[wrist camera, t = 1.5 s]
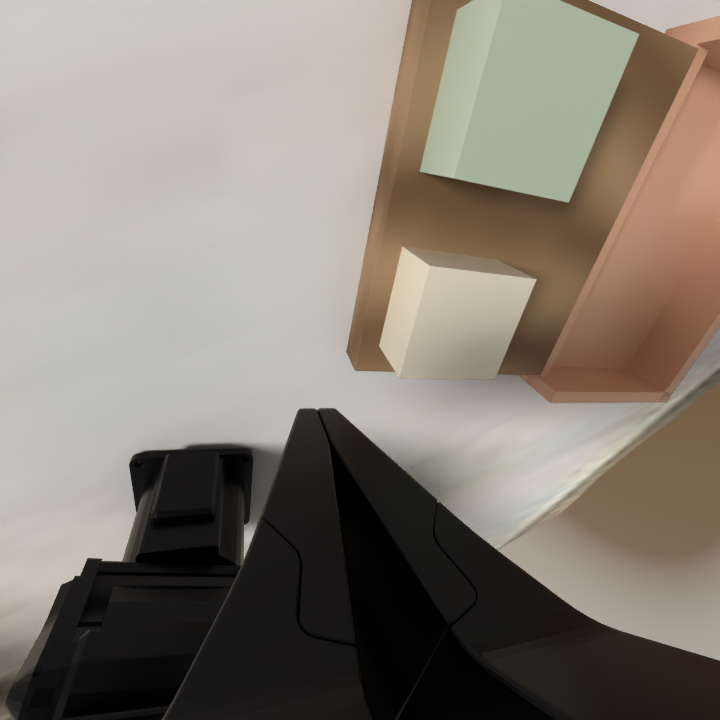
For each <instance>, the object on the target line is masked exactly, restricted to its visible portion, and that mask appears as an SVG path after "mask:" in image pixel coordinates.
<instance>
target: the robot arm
mask: <svg viewBox="0 0 720 720" xmlns="http://www.w3.org/2000/svg"><path fill="white" fill-rule="evenodd" d="M242 457H247V458H242ZM138 462H143V463H138ZM129 467H130V474H131V480H132V487H133V493H134V500H135V506H136V513H137V514H136V517H135V520H134V524H133V527H132V530H131V534H130V537H129V541H128V544H127V547H126V551H125V554H124V557H123V561H122V562H117V561H102V559H95V558H88V559H87V561H86V564H85V566H84V568H83V571H82V573H81V576H75V577H74V579H73V580H72V581H69V582H67V583H65V584H62V585H61V587H60V589H59V592H58V594H57V597H56V599H55V601H54V604H53V606H52V609H51V611H50V613H49V616H48V618H47V620H46V622H45V625H44V627H43V629H42V631H41V633H40V635H39V636H38V638H37V640H36V642H35V644H34V646H33V648H32V649H31V651H30V653H29V655H28V657H27V659H26V660H25V662H24V664H23V666H22V668H21V670H20V672H19V673H18V675H17V677H16V679H15V681H14V683H13V685H12V687H11V689H10V692H9V694H8V697H7V700H6V703H5V707H6V709H7V710H8V712H9V714H10V715H11V717H12V719H13V720H720V661H719V660H716V659H712V658H709V657H705V656H702V655H699V654H696V653H692V652H689V651H685V650H682V649H679V648H675V647H672V646H669V645H665V644H662V643H659V642H656V641H652V640H649V639H645V638H642V637H639V636H635V635H632V634H629V633H625V632H622V631H619V630H616V629H613V628H611V627H608V626H606V625H604V624H601V623H599V622H597V621H596V620H593V619H592V618H590V617H588V616H586V615H584V614H583V613H581V612H580V611H578V610H576V609H575V608H573V607H572V606H571V605H569V604H568V603H566V602H565V601H564V600H562V599H561V598H560V597H558V596H557V595H556V594H554V593H553V592H551V591H550V590H549V589H548V588H546V587H545V586H544V585H542V584H541V583H540V582H538V581H537V580H536V579H534V578H533V577H532V576H531V575H529V574H528V573H526V572H525V571H524V570H523V569H521V568H520V567H519V566H517V565H516V564H515V563H513V562H512V561H511V560H509V559H508V558H507V557H505V556H504V555H503V554H501V553H500V552H499V551H498V550H496V549H495V548H494V547H493V546H491V545H490V544H489V543H487V542H486V541H485V540H484V539H482V538H481V537H480V536H479V535H477V534H476V533H475V532H474V531H472V530H471V529H470V528H469V527H468V526H467V525H465V524H464V523H463V522H462V521H461V520H460V519H458V518H457V517H456V516H455V515H454V514H453V513H452V512H450V511H449V510H448V509H447V508H446V507H445V506H444V505H443V504H441V503H440V502H438V503H437V499H436V498H435V497H433V496H432V495H431V494H430V493H429V492H428V491H427V490H426V489H424V488H423V487H422V486H421V485H420V484H419V483H418V482H417V481H416V480H414V479H413V478H412V477H411V476H410V475H409V474H408V473H407V472H405V471H404V470H403V469H402V468H401V467H400V466H399V465H398V464H397V463H395V462H394V461H393V460H392V459H391V458H390V457H389V456H388V455H386V454H385V453H384V452H383V451H382V450H381V449H380V448H379V447H378V446H376V445H375V444H374V443H373V442H372V441H371V440H370V439H369V438H368V437H366V436H365V435H364V434H363V433H362V432H361V431H360V430H359V429H357V428H356V427H355V426H354V425H353V424H352V423H351V422H350V421H349V420H347V419H346V418H345V417H344V416H343V415H342V414H341V413H340V412H338V411H337V410H336V409H334V408H320V409H318V410H316V409H313V408H308V409H299V410H298V412H297V414H296V417H295V420H294V423H293V426H292V429H291V431H290V434H289V437H288V440H287V443H286V446H285V448H284V451H283V454H282V457H281V460H280V463H279V465H278V468H277V471H276V474H275V477H274V480H273V482H272V485H271V488H270V491H269V494H268V497H267V499H266V502H265V505H264V508H263V511H262V514H261V516H260V521H259V522H258V524H257V527H256V530H255V533H254V535H253V538H252V541H251V543H250V546H249V548H248V551H247V553H246V556H245V559H244V525H245V524H247V523H248V522H249V517H250V500H251V484H252V467H253V453H252V451H251V450H248V449H230V450H206V451H181V452H157V453H139V454H135V455H133V457H132V458H131V461H130V464H129Z"/></svg>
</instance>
